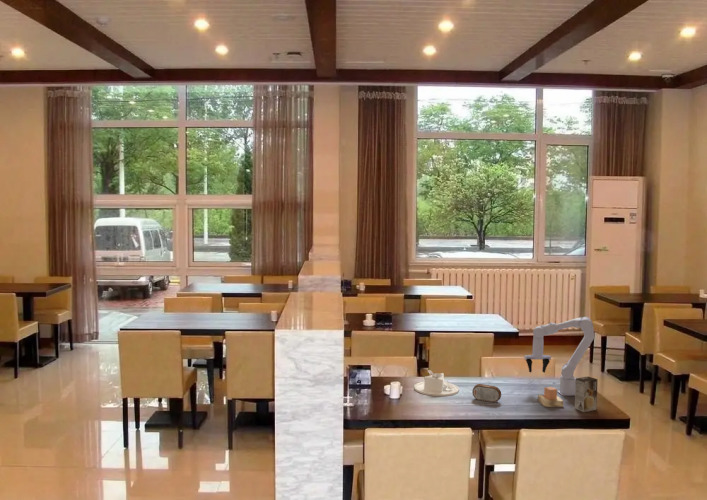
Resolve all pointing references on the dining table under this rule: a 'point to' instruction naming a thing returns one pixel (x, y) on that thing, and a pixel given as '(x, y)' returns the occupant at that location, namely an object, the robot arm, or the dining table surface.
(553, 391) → the block
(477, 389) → the tin
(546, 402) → the riser
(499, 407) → the dining table surface
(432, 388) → the dish
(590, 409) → the coffee box
